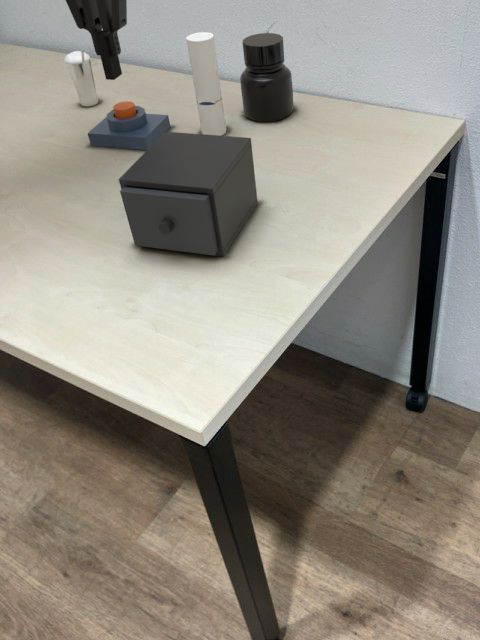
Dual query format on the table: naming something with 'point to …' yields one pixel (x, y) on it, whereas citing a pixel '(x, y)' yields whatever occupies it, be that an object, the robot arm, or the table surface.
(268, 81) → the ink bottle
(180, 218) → the open drawer with knob
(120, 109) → the button
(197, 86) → the tube
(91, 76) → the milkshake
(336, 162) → the table surface
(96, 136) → the button block
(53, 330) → the table surface
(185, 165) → the grey drawer cabinet
